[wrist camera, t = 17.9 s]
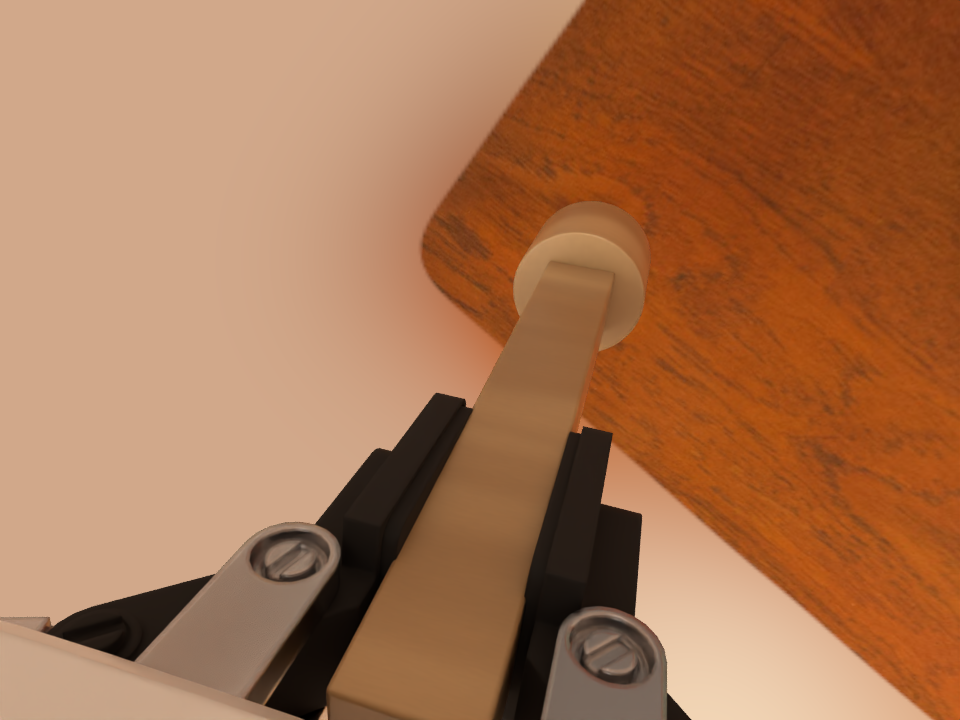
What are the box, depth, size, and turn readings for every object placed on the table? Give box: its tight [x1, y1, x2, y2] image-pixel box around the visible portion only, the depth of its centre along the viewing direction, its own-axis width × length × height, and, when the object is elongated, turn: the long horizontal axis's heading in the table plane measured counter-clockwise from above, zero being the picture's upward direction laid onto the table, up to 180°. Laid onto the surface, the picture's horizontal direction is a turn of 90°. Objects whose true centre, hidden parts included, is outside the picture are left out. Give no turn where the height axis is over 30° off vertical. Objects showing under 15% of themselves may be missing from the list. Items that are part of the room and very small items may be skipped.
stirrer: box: [326, 201, 651, 720], centre depth 14 cm, size 4×4×16 cm
